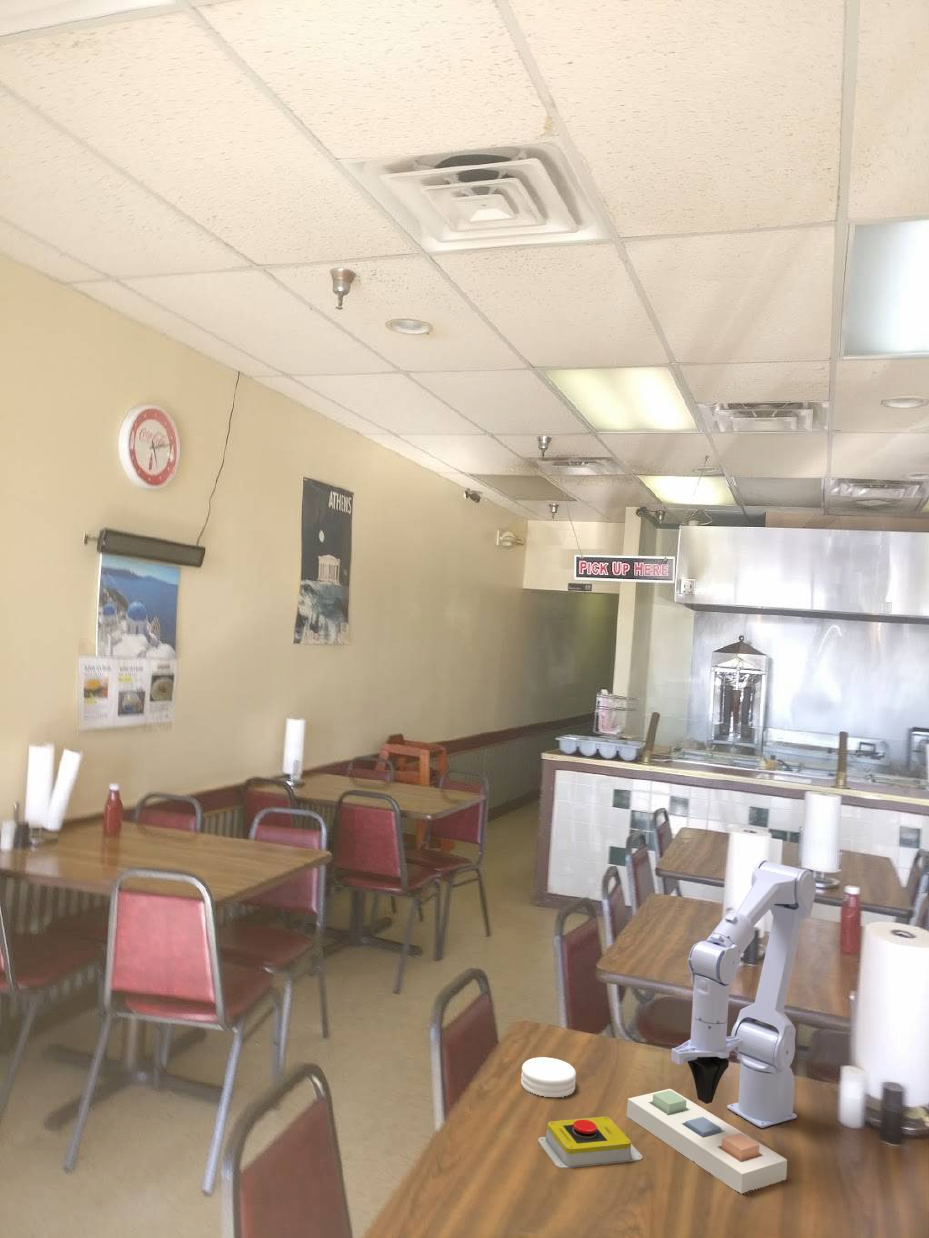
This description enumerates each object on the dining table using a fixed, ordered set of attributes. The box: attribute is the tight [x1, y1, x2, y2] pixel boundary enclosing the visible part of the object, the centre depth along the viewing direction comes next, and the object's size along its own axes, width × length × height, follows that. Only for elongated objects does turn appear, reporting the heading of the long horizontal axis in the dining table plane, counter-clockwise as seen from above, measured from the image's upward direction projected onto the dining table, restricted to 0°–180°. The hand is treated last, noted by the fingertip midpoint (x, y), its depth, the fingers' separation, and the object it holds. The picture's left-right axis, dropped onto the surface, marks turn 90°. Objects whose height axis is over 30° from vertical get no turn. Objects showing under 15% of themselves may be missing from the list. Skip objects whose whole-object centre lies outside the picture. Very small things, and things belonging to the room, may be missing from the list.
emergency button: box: [537, 1116, 644, 1169], centre depth 152 cm, size 9×4×15 cm
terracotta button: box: [722, 1133, 759, 1162], centre depth 149 cm, size 4×4×3 cm
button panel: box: [626, 1088, 788, 1195], centre depth 156 cm, size 10×26×3 cm, turn 31°
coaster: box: [520, 1056, 577, 1098], centre depth 174 cm, size 10×10×4 cm
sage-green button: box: [652, 1090, 686, 1115], centre depth 163 cm, size 4×4×3 cm
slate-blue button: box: [685, 1117, 721, 1138], centre depth 156 cm, size 4×4×3 cm
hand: (704, 1100), depth 156 cm, fingers closed
